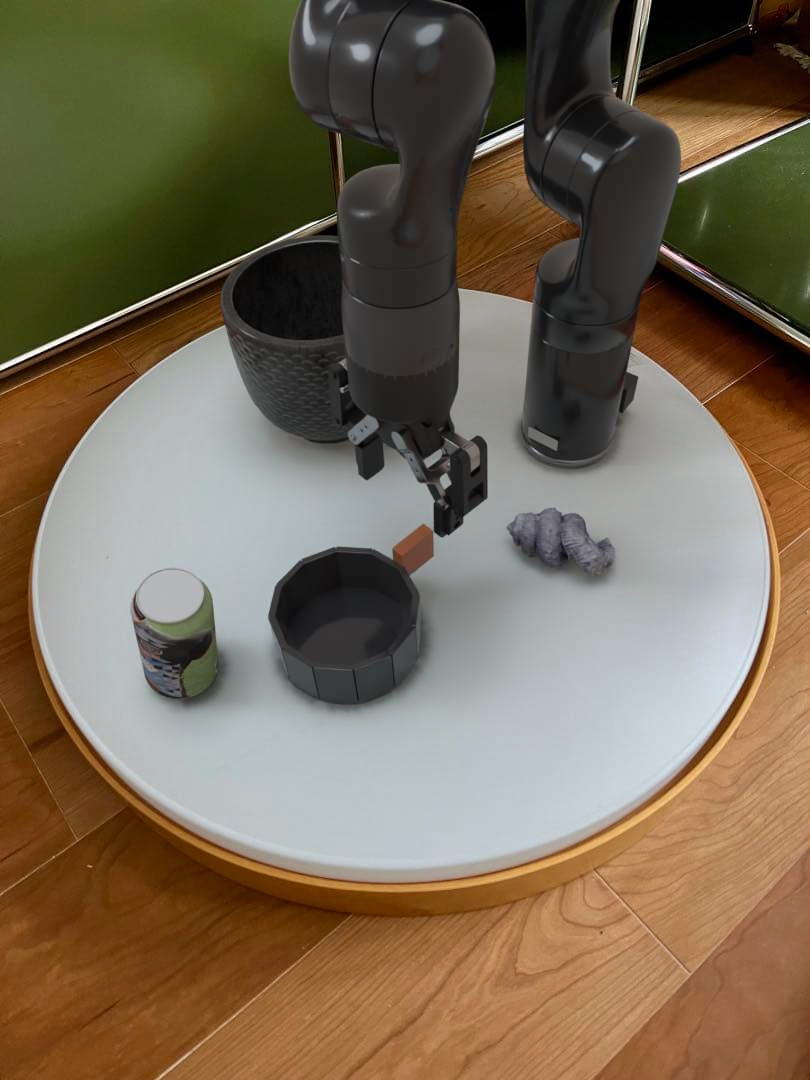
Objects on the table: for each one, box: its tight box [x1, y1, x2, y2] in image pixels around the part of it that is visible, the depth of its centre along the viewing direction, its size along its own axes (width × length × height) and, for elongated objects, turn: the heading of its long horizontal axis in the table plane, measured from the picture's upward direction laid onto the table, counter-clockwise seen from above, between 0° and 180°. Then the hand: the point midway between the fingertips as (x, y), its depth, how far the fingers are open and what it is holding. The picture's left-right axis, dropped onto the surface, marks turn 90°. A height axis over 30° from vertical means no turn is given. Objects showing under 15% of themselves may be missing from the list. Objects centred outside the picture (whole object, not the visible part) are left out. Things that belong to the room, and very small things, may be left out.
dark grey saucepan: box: [267, 523, 435, 705], centre depth 75 cm, size 16×12×7 cm
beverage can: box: [130, 567, 219, 700], centre depth 71 cm, size 6×7×12 cm
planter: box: [220, 235, 367, 445], centre depth 88 cm, size 17×17×16 cm
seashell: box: [505, 506, 616, 577], centre depth 80 cm, size 5×5×10 cm
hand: (408, 500), depth 71 cm, fingers open, 8 cm apart
